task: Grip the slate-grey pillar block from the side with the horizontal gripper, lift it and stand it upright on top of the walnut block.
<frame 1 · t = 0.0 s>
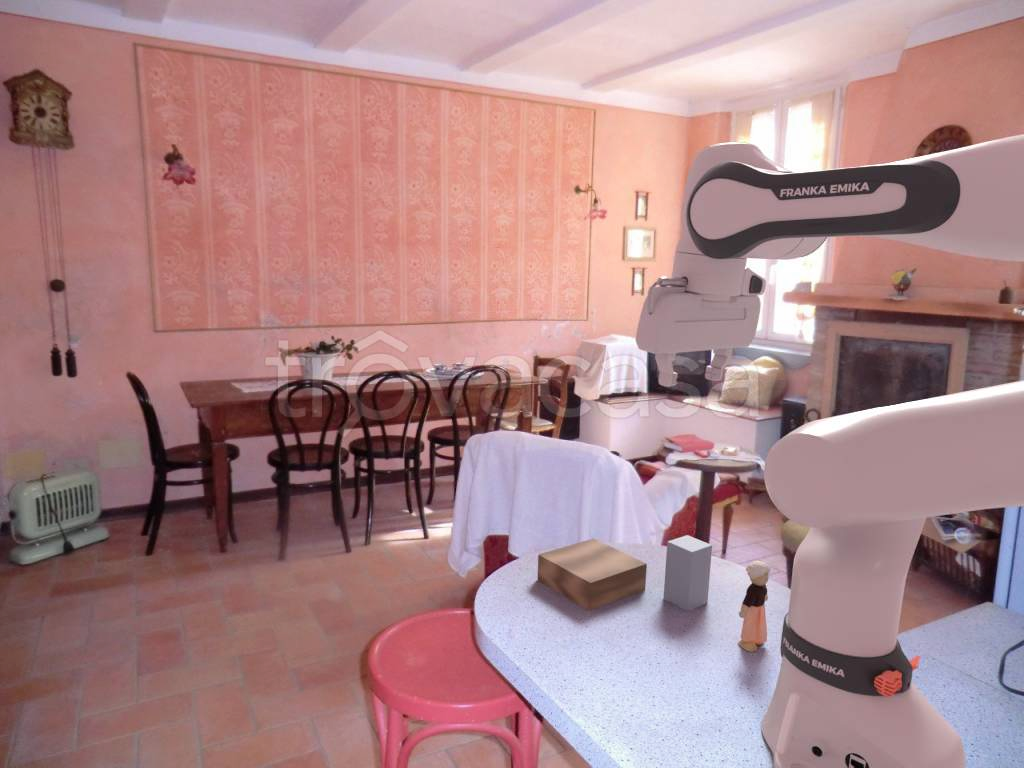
hand: (690, 382, 91), 39 cm above the kitchen counter, tool pointing down, fingers open, 8 cm apart
slate pillar block: (685, 600, 113), on the kitchen counter
grandmother figurine: (752, 643, 101), on the kitchen counter
walnut block: (590, 586, 118), on the kitchen counter
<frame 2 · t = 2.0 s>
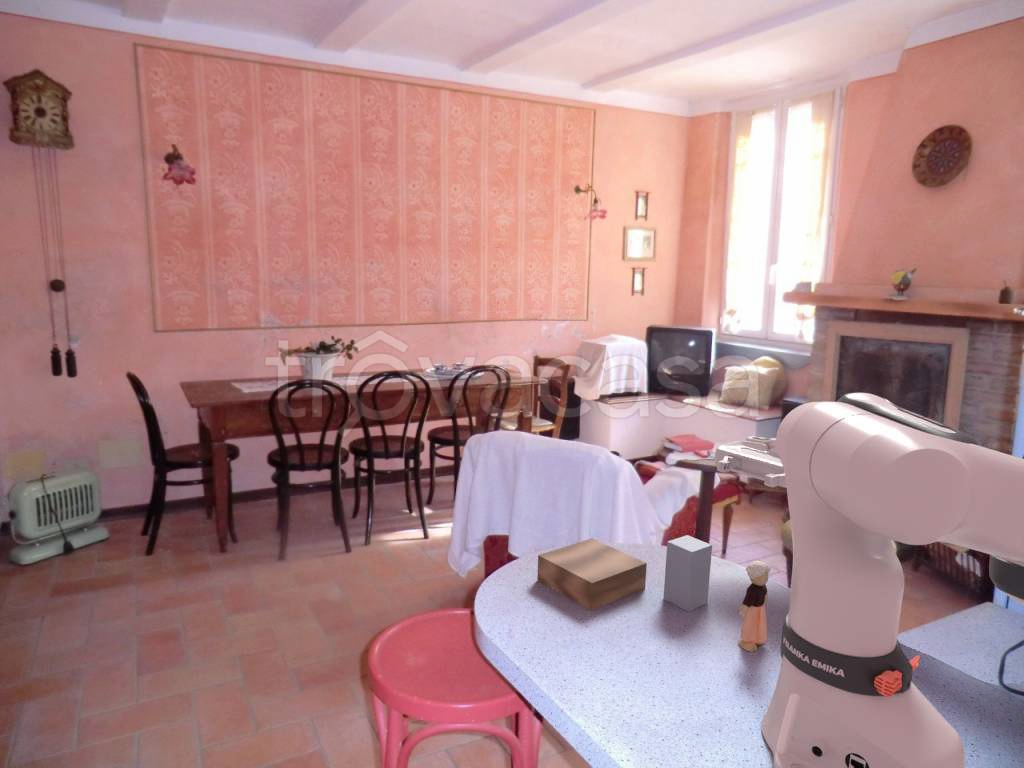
hand: (743, 474, 117), 19 cm above the kitchen counter, tool horizontal, fingers open, 8 cm apart
nothing on the kitchen counter moved.
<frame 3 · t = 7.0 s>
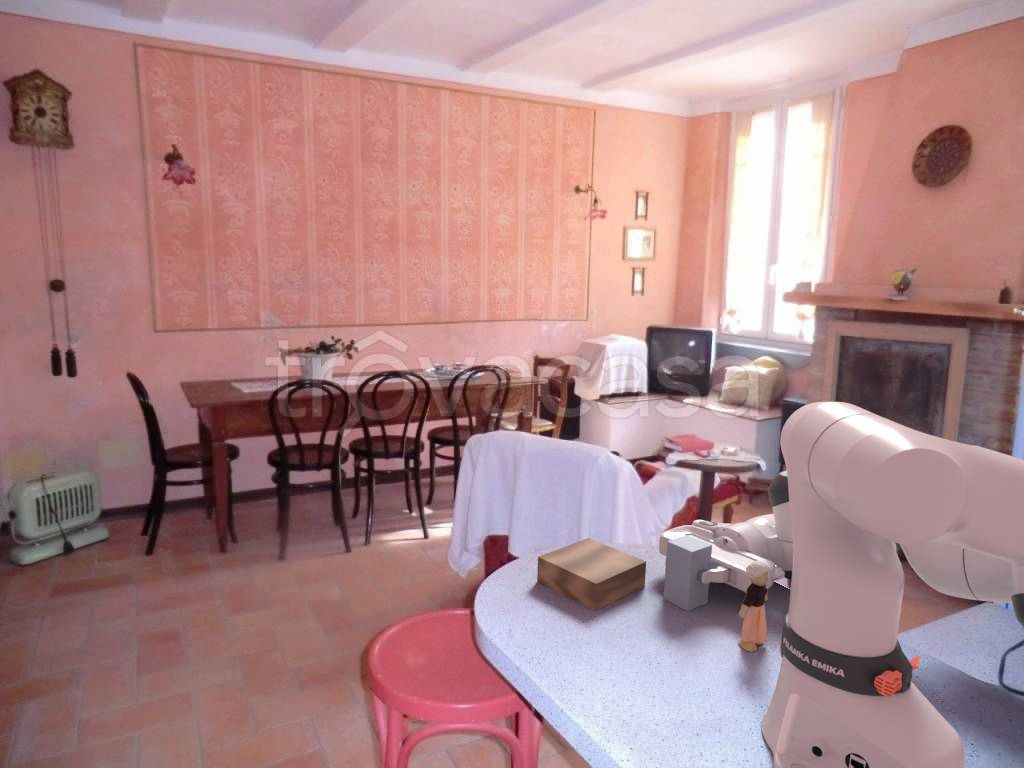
hand: (684, 570, 111), 6 cm above the kitchen counter, tool horizontal, fingers closed on slate pillar block, 5 cm apart
slate pillar block: (685, 600, 113), on the kitchen counter, touching gripper
everything else where it was.
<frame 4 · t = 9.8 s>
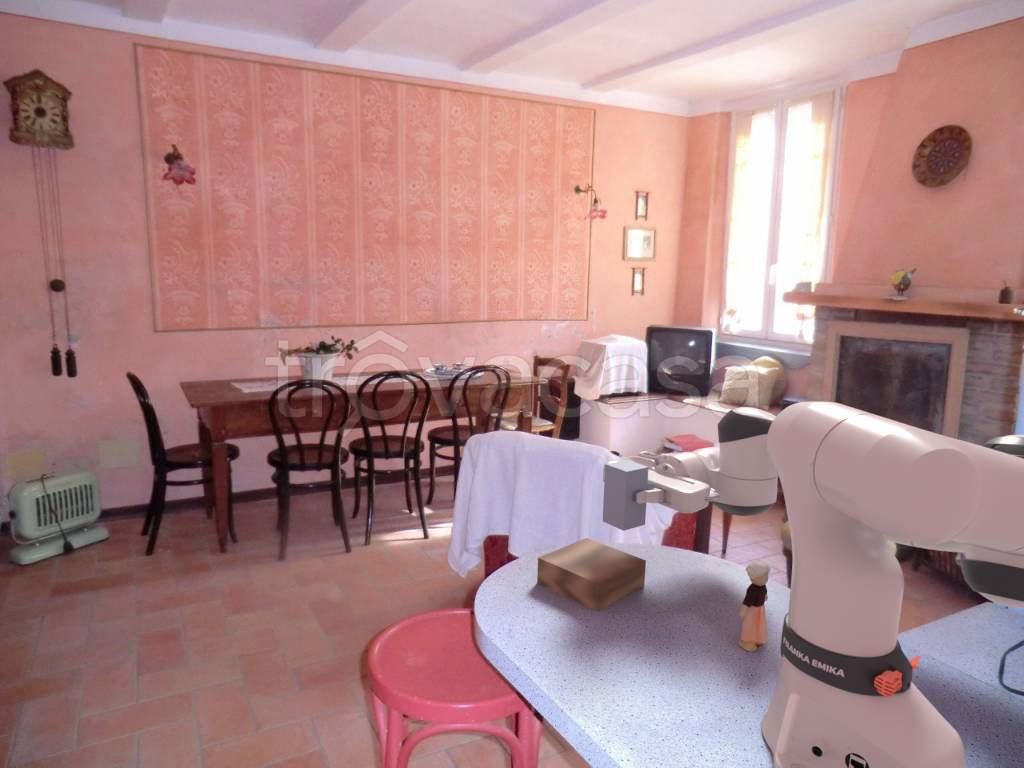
hand: (621, 492, 114), 17 cm above the kitchen counter, tool horizontal, fingers closed on slate pillar block, 5 cm apart
slate pillar block: (623, 522, 115), point 11 cm above the kitchen counter, touching gripper
everything else where it was.
when the fingers open (12 cm above the kitchen counter, at t = 12.8 s): slate pillar block drops 2 cm, point 5 cm above the kitchen counter.
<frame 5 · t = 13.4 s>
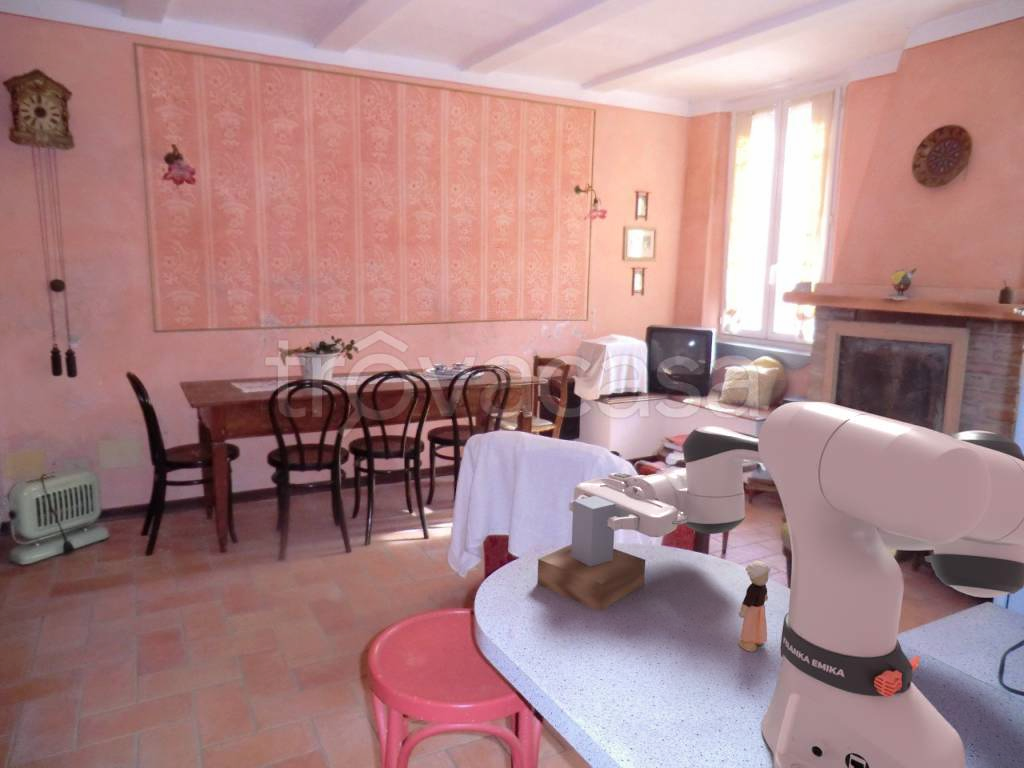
hand: (590, 515, 115), 12 cm above the kitchen counter, tool horizontal, fingers open, 8 cm apart
slate pillar block: (591, 558, 117), point 5 cm above the kitchen counter
everything else where it was.
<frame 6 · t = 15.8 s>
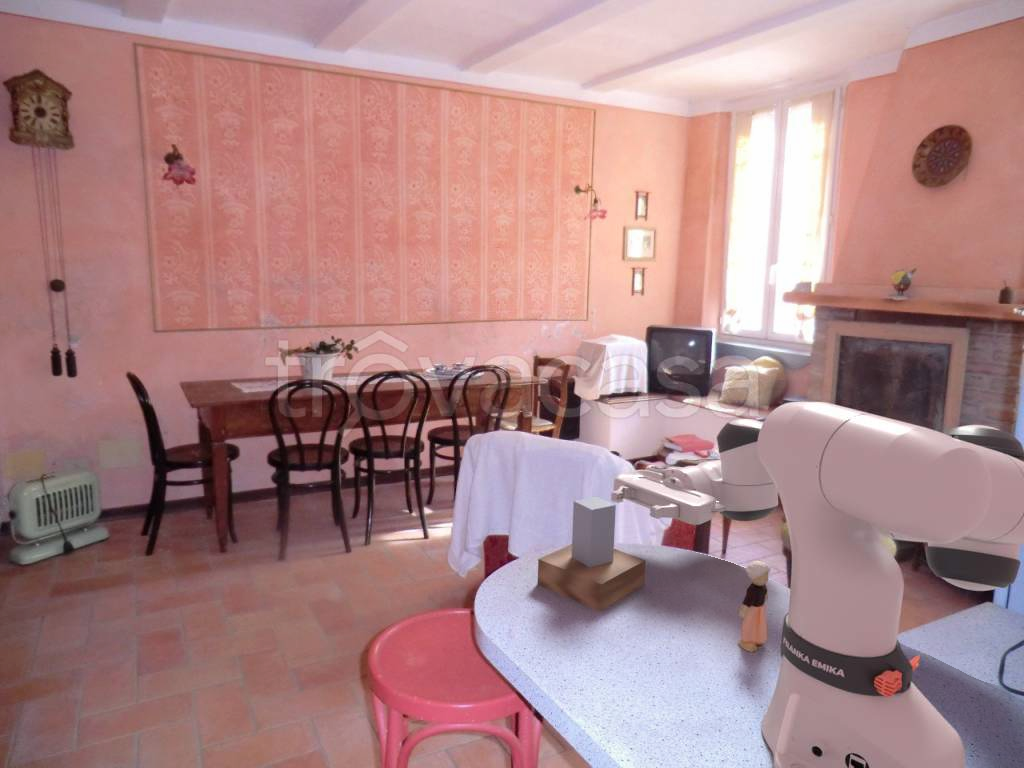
hand: (632, 505, 122), 12 cm above the kitchen counter, tool horizontal, fingers open, 8 cm apart
nothing on the kitchen counter moved.
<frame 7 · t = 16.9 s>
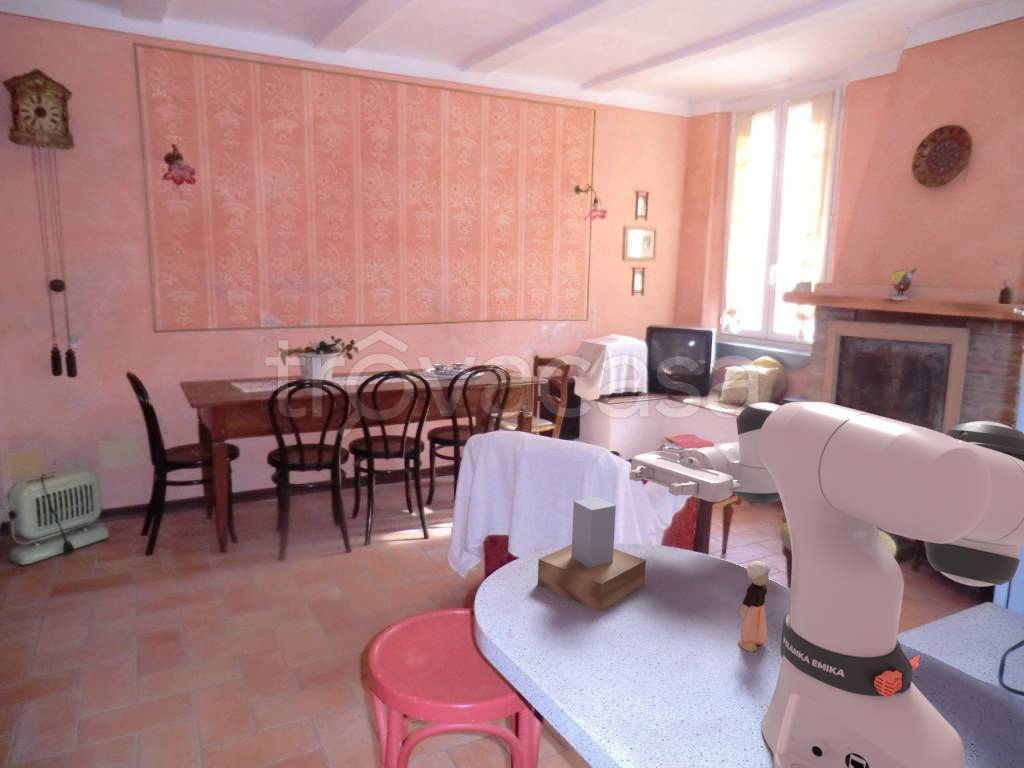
hand: (651, 483, 123), 16 cm above the kitchen counter, tool horizontal, fingers open, 8 cm apart
nothing on the kitchen counter moved.
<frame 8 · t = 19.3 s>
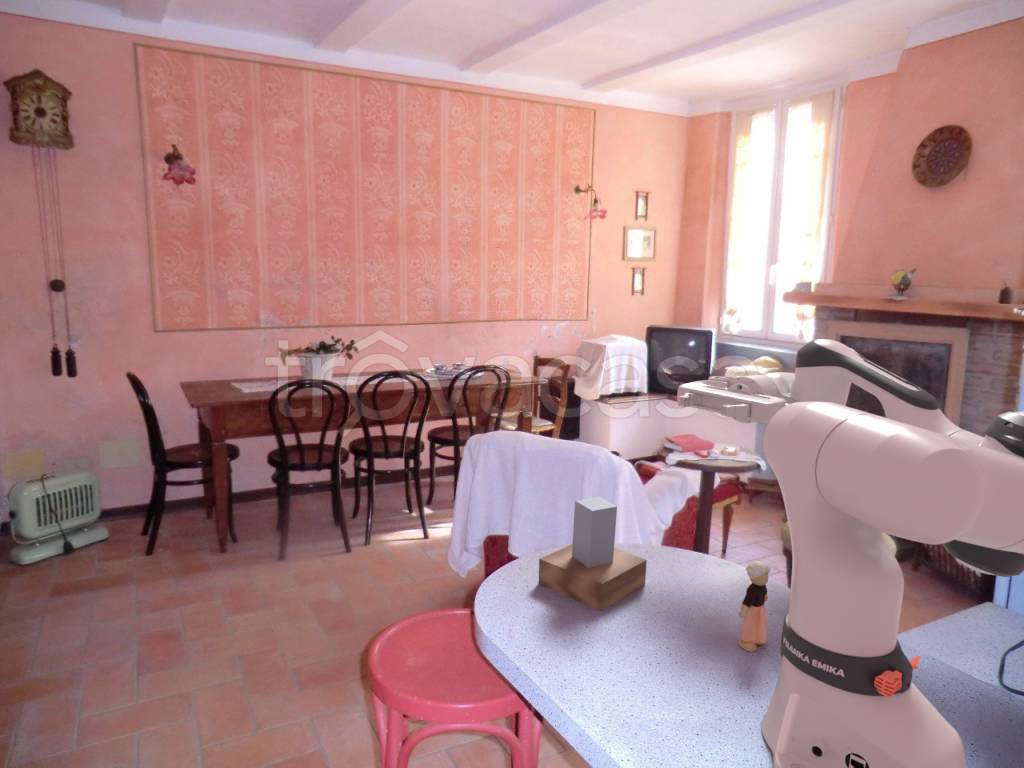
hand: (702, 406, 121), 30 cm above the kitchen counter, tool horizontal, fingers open, 8 cm apart
nothing on the kitchen counter moved.
at the end: slate pillar block inside the target area on the walnut block (0.3 cm from its centre), point 5.1 cm above the walnut block's base; slate pillar block tilted 1°; the gripper is holding nothing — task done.
